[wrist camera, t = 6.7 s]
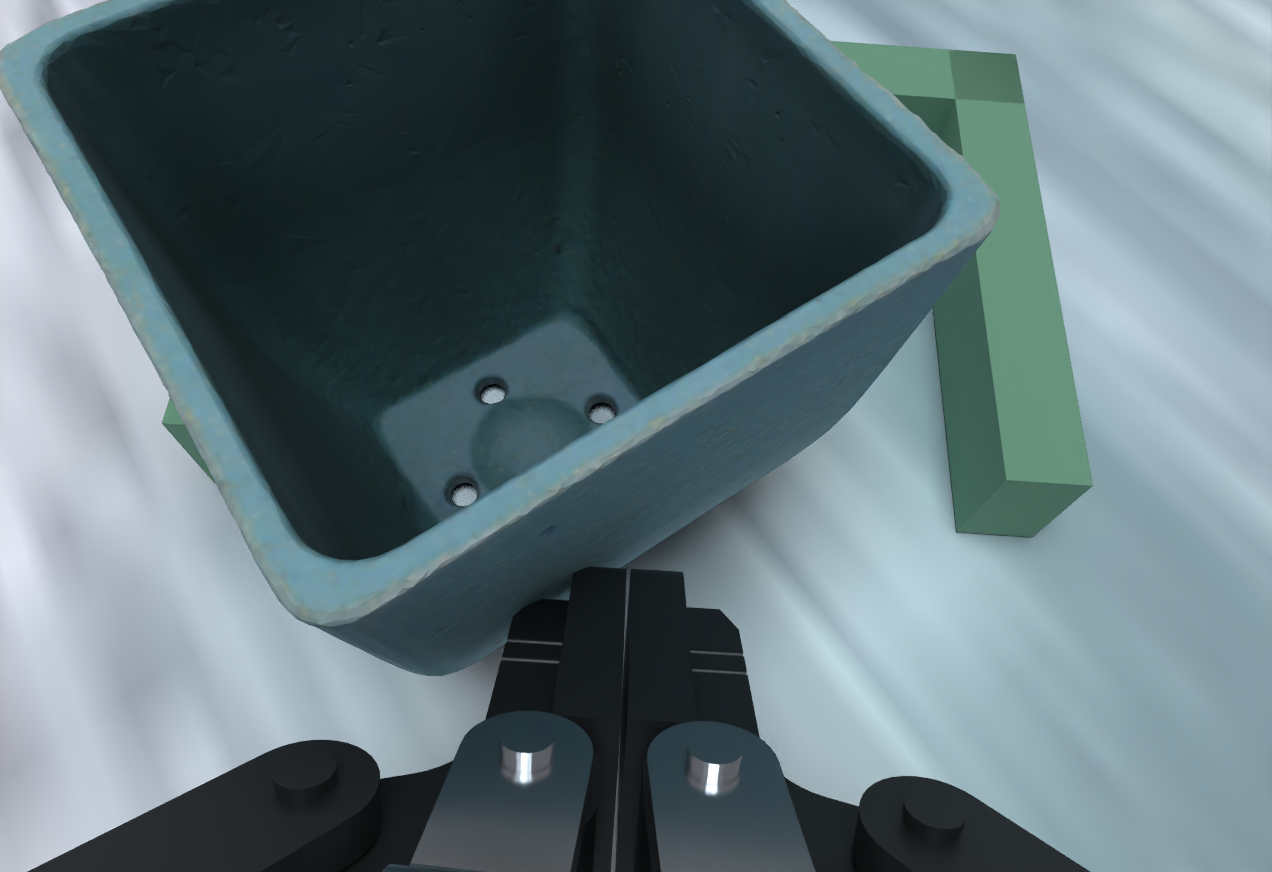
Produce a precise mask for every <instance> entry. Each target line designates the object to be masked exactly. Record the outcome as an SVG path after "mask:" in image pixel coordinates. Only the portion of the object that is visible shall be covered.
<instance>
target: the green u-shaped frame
mask: <svg viewBox="0 0 1272 872" xmlns="http://www.w3.org/2000/svg"><path fill="white" fill-rule="evenodd" d="M831 42H832V44H833V45H834V46H835V47H836V48H838V49H839V50H840V51H841V52H843V53H844V54H845V55H846V56H847V57H849V58H850V59H851V60H853V61H854V62H855V63H856V64H857V65H858V67H859V68H860V69H861V70H862V71H863V72H864V73H866V74H867V75H868V76H870V77H872V78H874V79H875V80H876V81H877V82H878V83H879V84H880V85H881V86H883V87H884V88H886V89H887V90H889V91H890V92H891V93H892V94H893V95H894V96H895V97H896V98H897V99H898V100H899V101H900V102H901V103H902V104H903V105H904V106H905V107H906V108H907V109H908V110H909V111H911V112H912V113H913V114H915V115H917V116H919V117H920V118H921V119H922V120H923V122H924V123H925V124H926V125H927V126H928V128H929V129H930V130H931V131H932V132H934V133H935V134H936V135H937V136H938V137H939V138H940V139H941V140H942V141H943V142H944V143H945V144H946V145H947V146H949V147H950V148H952V149H953V150H954V151H956V152H957V153H958V154H960V155H962V156H963V158H964V160H965V161H966V162H967V163H968V164H969V165H970V166H971V167H972V168H973V169H974V170H975V171H976V172H977V173H978V174H979V175H980V176H981V178H982V180H983V181H984V182H985V183H986V184H987V185H989V186H990V188H991V189H992V190H993V191H994V192H995V193H996V194H997V196H998V199H999V202H1000V205H1001V207H1000V215H999V219H998V221H997V223H996V224H995V226H994V228H993V230H992V231H991V233H990V235H989V236H988V237H987V238H986V239H985V241H984V242H983V243H982V244H981V246H980V247H979V248H978V249H977V251H976V252H975V253H974V254H973V256H972V257H971V258H970V259H969V261H968V262H967V263H966V265H965V266H964V267H963V269H962V270H961V271H960V272H959V274H958V275H957V276H956V278H955V279H954V280H953V282H952V283H951V284H950V286H949V287H948V288H947V289H946V291H945V292H944V293H943V295H942V296H941V297H940V298H939V300H938V301H937V302H936V303H935V305H934V306H933V313H934V322H935V332H936V341H937V351H938V360H939V370H940V379H941V389H942V398H943V408H944V417H945V427H946V436H947V446H948V455H949V465H950V474H951V484H952V493H953V503H954V512H955V522H956V531H957V532H964V533H979V534H994V535H1009V536H1024V537H1033V536H1034V535H1036V534H1037V533H1038V532H1039V531H1040V530H1041V529H1043V528H1044V527H1045V526H1046V525H1047V524H1049V523H1050V522H1051V521H1052V520H1053V519H1054V518H1056V517H1057V516H1058V515H1059V514H1060V513H1061V512H1063V511H1064V510H1065V509H1066V508H1067V507H1068V506H1070V505H1071V504H1072V503H1073V502H1074V501H1076V500H1077V499H1078V498H1079V497H1080V496H1081V495H1083V494H1084V493H1085V492H1086V491H1087V490H1088V489H1090V488H1091V487H1092V486H1093V484H1092V478H1091V473H1090V467H1089V462H1088V456H1087V450H1086V445H1085V439H1084V434H1083V428H1082V423H1081V417H1080V411H1079V406H1078V400H1077V395H1076V389H1075V383H1074V378H1073V372H1072V367H1071V361H1070V355H1069V350H1068V344H1067V339H1066V333H1065V327H1064V322H1063V316H1062V311H1061V305H1060V299H1059V294H1058V288H1057V283H1056V277H1055V272H1054V266H1053V260H1052V255H1051V249H1050V244H1049V238H1048V232H1047V227H1046V221H1045V216H1044V210H1043V204H1042V199H1041V193H1040V188H1039V182H1038V176H1037V171H1036V165H1035V160H1034V154H1033V149H1032V143H1031V137H1030V132H1029V126H1028V121H1027V115H1026V109H1025V104H1024V98H1023V93H1022V87H1021V81H1020V76H1019V70H1018V65H1017V59H1016V54H1002V53H988V52H975V51H961V50H947V49H933V48H920V47H906V46H892V45H879V44H865V43H851V42H837V41H831ZM162 424H163V425H164V426H165V427H166V428H167V430H168V431H169V432H170V433H171V434H172V435H173V436H174V438H175V439H176V440H177V441H178V442H179V443H180V444H181V446H182V447H183V448H184V449H185V450H186V451H187V452H188V453H189V455H190V456H191V457H192V458H193V459H194V460H195V461H196V463H197V464H198V465H199V466H200V467H201V468H202V469H203V471H204V472H205V473H206V474H207V475H208V476H209V477H210V478H211V480H212V481H213V482H214V483H216V482H215V481H214V479H213V477H212V475H211V473H210V471H209V469H208V467H207V465H206V463H205V461H204V460H203V459H202V458H201V455H200V453H199V451H198V449H197V447H196V445H195V443H194V441H193V439H192V437H191V436H190V434H189V432H188V430H187V428H186V426H185V424H184V422H183V421H182V419H181V417H180V415H179V413H178V411H177V409H176V407H175V405H174V403H173V402H172V400H171V398H170V399H169V402H168V405H167V409H166V412H165V415H164V418H163V421H162Z"/></svg>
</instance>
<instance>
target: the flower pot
mask: <svg viewBox="0 0 1272 872" xmlns="http://www.w3.org/2000/svg"><path fill="white" fill-rule="evenodd" d="M0 89H1V91H2V93H3V95H4V97H5V99H6V101H7V103H8V104H9V106H10V107H11V108H12V110H13V112H14V113H15V115H16V117H17V118H18V120H19V122H20V124H21V126H22V128H23V131H24V132H25V133H26V135H27V137H28V138H29V140H30V142H31V144H32V145H33V147H34V149H35V150H36V152H37V154H38V156H39V157H40V159H41V162H42V164H44V167H45V169H46V171H47V173H48V174H49V175H50V176H51V178H52V180H53V182H54V184H55V186H56V188H57V190H58V192H59V194H60V196H61V198H62V200H63V201H64V203H65V205H66V206H67V208H68V209H69V211H70V213H71V215H72V217H73V219H74V221H75V222H76V223H77V225H78V227H79V229H80V231H81V233H82V235H83V237H84V239H85V241H86V243H87V244H88V246H89V248H90V250H91V252H92V254H93V255H94V257H95V258H96V260H97V262H98V263H99V265H100V267H101V269H102V270H103V272H104V273H105V275H106V278H107V281H108V283H109V284H110V286H111V288H112V289H113V291H114V293H115V295H116V297H117V299H118V302H119V304H120V305H121V307H122V308H123V310H124V312H125V313H126V315H127V318H128V320H129V322H130V324H131V326H132V328H133V330H134V332H135V333H136V335H137V337H138V338H139V340H140V342H141V344H142V346H143V348H144V349H145V351H146V353H147V354H148V356H149V358H150V360H151V361H152V363H153V365H154V367H155V369H156V371H157V373H158V375H159V377H160V379H161V381H162V383H163V385H164V386H165V388H166V389H167V390H168V393H169V397H170V398H171V400H172V402H173V403H174V405H175V407H176V409H177V411H178V413H179V415H180V417H181V419H182V421H183V422H184V424H185V426H186V428H187V430H188V432H189V434H190V436H191V437H192V439H193V441H194V443H195V445H196V447H197V449H198V451H199V453H200V455H201V458H202V459H203V460H204V461H205V463H206V465H207V467H208V469H209V471H210V473H211V475H212V477H213V479H214V481H215V482H216V484H217V486H218V488H219V490H220V492H221V494H222V496H223V498H224V500H225V503H226V505H227V507H228V509H229V511H230V513H231V514H232V516H233V518H234V520H235V521H236V523H237V525H238V526H239V528H240V530H241V532H242V535H243V537H244V539H245V541H246V543H247V545H248V547H249V549H250V551H251V553H252V555H253V558H254V560H255V562H256V564H257V565H258V567H259V569H260V570H261V572H262V574H263V575H264V577H265V579H266V580H267V582H268V584H269V585H270V587H271V589H272V590H273V592H274V594H275V595H276V597H277V599H278V600H279V601H280V603H281V604H282V605H283V606H284V607H285V608H286V609H287V610H288V611H289V612H290V613H291V614H292V615H293V616H294V617H295V618H296V619H298V620H300V621H302V622H304V623H306V624H309V625H312V626H315V627H317V628H319V629H321V630H323V631H325V632H327V633H329V634H331V635H333V636H335V637H337V638H339V639H340V640H342V641H344V642H347V643H349V644H351V645H353V646H355V647H357V648H359V649H362V650H364V651H365V652H367V653H369V654H371V655H373V656H375V657H377V658H379V659H381V660H383V661H386V662H388V663H390V664H392V665H395V666H397V667H399V668H402V669H404V670H407V671H410V672H412V673H416V674H421V675H426V676H443V675H446V674H450V673H454V672H457V671H459V670H462V669H464V668H466V667H468V666H470V665H472V664H474V663H476V662H477V661H479V660H480V659H482V658H484V657H485V656H487V655H489V654H490V653H492V652H493V651H495V650H496V649H498V648H499V647H501V646H502V645H504V644H505V643H506V642H507V637H508V633H509V629H510V625H511V622H512V618H513V616H514V615H515V614H516V613H517V612H518V611H519V610H521V609H522V608H523V607H525V606H527V605H529V604H532V603H534V602H536V601H538V600H540V599H554V600H569V597H570V591H571V584H572V578H573V573H574V572H576V571H579V570H581V569H583V568H586V567H608V568H621V567H623V566H624V565H626V564H627V563H629V562H630V561H632V560H634V559H635V558H637V557H638V556H640V555H641V554H643V553H644V552H646V551H647V550H649V549H650V548H652V547H653V546H655V545H656V544H658V543H659V542H661V541H663V540H664V539H666V538H667V537H669V536H670V535H672V534H673V533H675V532H676V531H678V530H680V529H681V528H683V527H684V526H686V525H687V524H689V523H690V522H692V521H694V520H695V519H697V518H698V517H700V516H701V515H703V514H705V513H706V512H708V511H709V510H711V509H712V508H714V507H715V506H717V505H718V504H720V503H721V502H723V501H724V500H726V499H728V498H729V497H731V496H732V495H734V494H735V493H737V492H738V491H740V490H741V489H743V488H744V487H746V486H748V485H749V484H751V483H753V482H754V481H756V480H757V479H759V478H761V477H762V476H764V475H765V474H767V473H769V472H770V471H772V470H773V469H775V468H777V467H778V466H780V465H781V464H783V463H785V462H786V461H788V460H789V459H791V458H792V457H794V456H795V455H796V454H798V453H799V452H801V451H802V450H803V449H805V448H806V447H808V446H809V445H810V444H812V443H813V442H815V441H816V440H817V439H818V438H820V437H821V436H822V435H823V434H825V433H826V432H827V431H828V430H830V429H831V428H832V427H833V426H834V425H835V424H836V423H837V422H838V421H839V420H840V419H841V418H842V417H843V416H844V415H845V414H846V413H847V412H848V411H849V410H850V409H851V408H852V407H853V406H854V405H855V404H856V402H857V401H858V400H859V399H860V398H861V397H862V395H863V394H864V393H865V392H866V391H867V389H868V388H869V387H870V386H871V384H872V383H873V382H874V381H875V380H876V378H877V377H878V376H879V375H880V373H881V372H882V371H883V370H884V368H885V367H886V366H887V365H888V363H889V362H890V361H891V360H892V358H893V357H894V356H895V354H896V353H897V352H898V350H899V349H900V348H901V347H902V345H903V344H904V343H905V342H906V340H907V339H908V338H909V337H910V335H911V334H912V333H913V331H914V330H915V329H916V328H917V326H918V325H919V324H920V323H921V321H922V320H923V319H924V317H925V316H926V315H927V314H928V312H929V311H930V310H931V309H932V307H933V306H934V305H935V303H936V302H937V301H938V300H939V298H940V297H941V296H942V295H943V293H944V292H945V291H946V289H947V288H948V287H949V286H950V284H951V283H952V282H953V280H954V279H955V278H956V276H957V275H958V274H959V272H960V271H961V270H962V269H963V267H964V266H965V265H966V263H967V262H968V261H969V259H970V258H971V257H972V256H973V254H974V253H975V252H976V251H977V249H978V248H979V247H980V246H981V244H982V243H983V242H984V241H985V239H986V238H987V237H988V236H989V235H990V233H991V231H992V230H993V228H994V226H995V224H996V223H997V221H998V219H999V215H1000V207H1001V205H1000V202H999V199H998V196H997V194H996V193H995V192H994V191H993V190H992V189H991V188H990V186H989V185H987V184H986V183H985V182H984V181H983V180H982V178H981V176H980V175H979V174H978V173H977V172H976V171H975V170H974V169H973V168H972V167H971V166H970V165H969V164H968V163H967V162H966V161H965V160H964V158H963V156H962V155H960V154H958V153H957V152H956V151H954V150H953V149H952V148H950V147H949V146H947V145H946V144H945V143H944V142H943V141H942V140H941V139H940V138H939V137H938V136H937V135H936V134H935V133H934V132H932V131H931V130H930V129H929V128H928V126H927V125H926V124H925V123H924V122H923V120H922V119H921V118H920V117H919V116H917V115H915V114H913V113H912V112H911V111H909V110H908V109H907V108H906V107H905V106H904V105H903V104H902V103H901V102H900V101H899V100H898V99H897V98H896V97H895V96H894V95H893V94H892V93H891V92H890V91H889V90H887V89H886V88H884V87H883V86H881V85H880V84H879V83H878V82H877V81H876V80H875V79H874V78H872V77H870V76H868V75H867V74H866V73H864V72H863V71H862V70H861V69H860V68H859V67H858V65H857V64H856V63H855V62H854V61H853V60H851V59H850V58H849V57H847V56H846V55H845V54H844V53H843V52H841V51H840V50H839V49H838V48H836V47H835V46H834V45H833V44H832V42H831V41H830V40H828V39H827V38H826V37H825V36H824V35H823V34H822V33H821V32H820V31H819V30H818V29H816V28H815V27H814V26H813V25H812V24H811V23H810V22H808V21H807V20H806V19H805V18H804V17H803V16H801V15H800V14H799V13H798V11H797V10H796V9H794V8H793V7H791V6H790V5H789V4H788V3H787V1H786V0H109V1H105V2H102V3H98V4H95V5H93V6H91V7H89V8H87V9H83V10H79V11H77V12H74V13H72V14H69V15H67V16H64V17H62V18H59V19H56V20H53V21H50V22H48V23H46V24H44V25H42V26H40V27H38V28H36V29H35V30H33V31H31V32H29V33H28V34H26V35H24V36H23V37H21V38H19V39H17V40H16V41H14V42H12V43H10V44H8V45H6V46H5V47H4V48H3V49H2V50H1V51H0ZM490 384H498V385H500V386H502V387H503V388H504V389H505V396H504V399H503V400H502V401H500V402H497V403H493V404H488V403H485V402H483V401H482V400H481V397H480V393H481V391H482V389H483V388H484V387H485V386H487V385H490ZM602 402H604V403H607V404H609V405H611V406H612V408H613V409H614V412H615V417H614V418H612V419H611V420H609V421H607V422H605V423H604V424H602V423H595V422H594V421H592V420H591V419H590V416H589V411H590V409H591V407H592V406H593V405H594V404H597V403H602ZM462 483H469V484H472V485H473V486H474V487H475V488H476V490H477V492H478V494H477V498H476V500H475V501H474V502H473V503H472V504H470V505H468V506H458V505H456V504H455V503H454V502H453V501H452V499H451V494H452V491H453V489H454V488H455V487H456V486H457V485H459V484H462Z"/></svg>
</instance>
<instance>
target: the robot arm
mask: <svg viewBox="0 0 1272 872" xmlns="http://www.w3.org/2000/svg"><path fill="white" fill-rule="evenodd" d="M625 596H626V569H624V568H608V567H586V568H583V569H581V570H579V571H576V572H574V573H573V578H572V584H571V591H570V597H569V600H554V599H540V600H538V601H536V602H534V603H532V604H529V605H527V606H525V607H523V608H522V609H521V610H519V611H518V612H517V613H516V614H515V615H514V616H513V618H512V622H511V625H510V629H509V633H508V637H507V642H506V644H505V648H504V652H503V656H502V661H501V663H500V667H499V671H498V674H497V678H496V682H495V686H494V689H493V693H492V697H491V701H490V704H489V708H488V712H487V716H486V719H485V720H484V721H482V722H481V723H479V724H477V725H476V726H475V727H473V728H472V729H471V730H470V731H469V732H468V733H467V734H466V735H465V737H464V738H463V740H462V742H461V744H460V746H459V749H458V751H457V753H456V756H455V758H454V760H453V761H451V762H449V763H447V764H445V765H442V766H440V767H437V768H434V769H431V770H428V771H423V772H419V773H414V774H408V775H402V776H396V777H390V778H384V779H380V771H379V768H378V765H377V763H376V762H375V760H374V759H373V757H372V756H371V755H369V754H368V753H367V752H366V751H364V750H362V749H361V748H359V747H357V746H354V745H351V744H349V743H345V742H340V741H333V740H310V741H301V742H297V743H292V744H288V745H285V746H282V747H279V748H276V749H274V750H271V751H269V752H267V753H264V754H262V755H260V756H258V757H256V758H254V759H252V760H250V761H248V762H246V763H244V764H242V765H240V766H238V767H236V768H234V769H232V770H230V771H228V772H226V773H224V774H222V775H220V776H218V777H216V778H214V779H212V780H210V781H208V782H206V783H204V784H202V785H200V786H198V787H196V788H194V789H192V790H190V791H188V792H186V793H184V794H182V795H180V796H178V797H176V798H174V799H172V800H170V801H168V802H166V803H164V804H162V805H160V806H158V807H156V808H154V809H152V810H150V811H148V812H146V813H144V814H142V815H140V816H138V817H136V818H134V819H132V820H130V821H128V822H126V823H124V824H122V825H120V826H118V827H116V828H114V829H112V830H110V831H108V832H106V833H104V834H102V835H100V836H98V837H96V838H94V839H92V840H90V841H88V842H86V843H84V844H82V845H80V846H78V847H76V848H74V849H72V850H70V851H68V852H66V853H64V854H62V855H60V856H58V857H56V858H54V859H52V860H50V861H48V862H46V863H44V864H42V865H40V866H38V867H36V868H34V869H32V870H30V871H28V872H610V870H611V856H612V842H613V827H614V813H615V799H616V784H617V770H618V756H619V741H620V757H619V785H618V812H617V840H616V868H615V872H1090V871H1088V870H1087V869H1085V868H1084V867H1082V866H1080V865H1079V864H1077V863H1076V862H1074V861H1073V860H1071V859H1070V858H1068V857H1066V856H1065V855H1063V854H1062V853H1060V852H1059V851H1057V850H1056V849H1054V848H1053V847H1051V846H1049V845H1048V844H1046V843H1045V842H1043V841H1042V840H1040V839H1039V838H1037V837H1035V836H1034V835H1032V834H1031V833H1029V832H1028V831H1026V830H1025V829H1023V828H1022V827H1020V826H1018V825H1017V824H1015V823H1014V822H1012V821H1011V820H1009V819H1008V818H1006V817H1004V816H1003V815H1001V814H1000V813H998V812H997V811H995V810H994V809H992V808H990V807H989V806H987V805H986V804H984V803H983V802H981V801H980V800H978V799H977V798H975V797H973V796H972V795H970V794H968V793H966V792H965V791H963V790H961V789H959V788H957V787H954V786H952V785H950V784H947V783H944V782H941V781H937V780H933V779H929V778H923V777H916V776H899V777H891V778H887V779H883V780H881V781H879V782H876V783H874V784H873V785H872V786H870V787H869V788H868V789H867V790H866V791H865V792H864V794H863V795H862V798H861V800H860V804H859V806H855V805H852V804H848V803H845V802H841V801H838V800H834V799H831V798H827V797H824V796H821V795H818V794H815V793H812V792H810V791H808V790H806V789H803V788H801V787H799V786H798V785H796V784H794V783H792V782H791V781H789V780H788V779H787V778H785V777H784V775H783V772H782V769H781V766H780V763H779V761H778V759H777V756H776V754H775V753H774V752H773V750H772V749H771V748H770V747H769V746H768V745H767V744H766V743H765V742H764V741H763V740H762V739H760V737H759V732H758V727H757V722H756V717H755V711H754V706H753V701H752V696H751V691H750V686H749V680H748V675H746V672H747V670H746V665H745V660H744V657H743V649H742V644H741V639H740V634H739V630H738V628H737V627H736V626H735V625H734V624H733V623H732V622H731V621H730V620H729V619H728V618H727V617H726V616H725V615H724V614H723V613H722V611H721V610H720V609H704V608H688V607H686V598H685V588H684V577H683V572H675V571H659V570H643V569H631V572H630V584H629V599H628V613H627V627H626V642H625V656H624V671H623V651H624V623H625ZM622 679H623V687H622ZM620 727H621V729H620Z"/></svg>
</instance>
